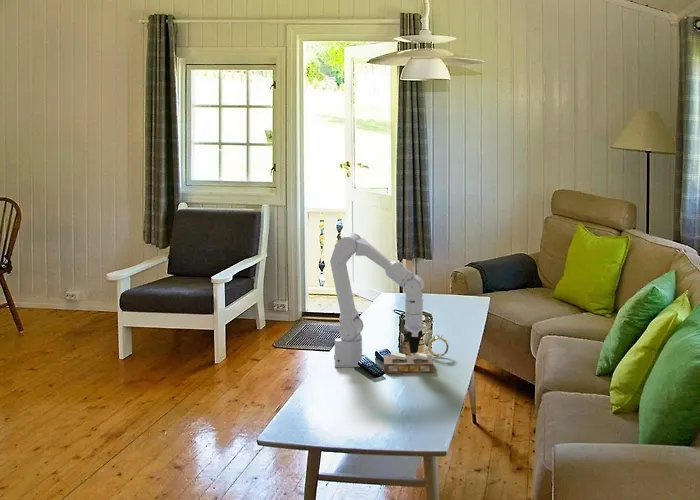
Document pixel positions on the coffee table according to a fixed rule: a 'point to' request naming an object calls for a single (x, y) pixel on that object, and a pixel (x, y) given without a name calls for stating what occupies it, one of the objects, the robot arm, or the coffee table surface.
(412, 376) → the coffee table surface
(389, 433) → the coffee table surface
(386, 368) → the switch box
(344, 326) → the robot arm
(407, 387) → the coffee table surface
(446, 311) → the coffee table surface
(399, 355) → the block
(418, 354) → the rocker right
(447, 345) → the ring
